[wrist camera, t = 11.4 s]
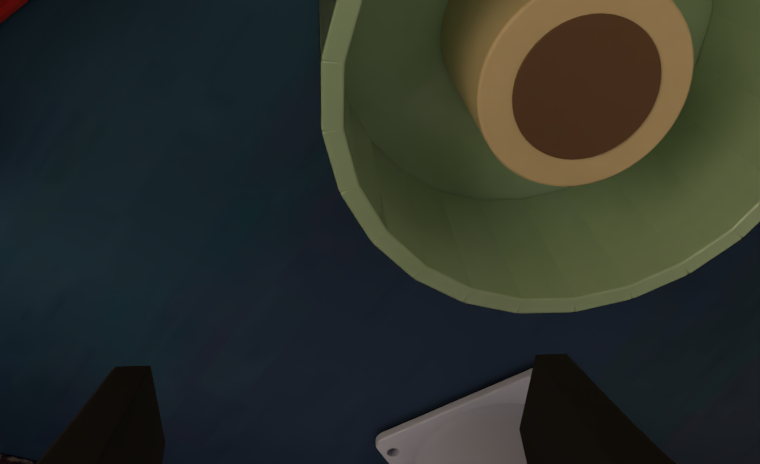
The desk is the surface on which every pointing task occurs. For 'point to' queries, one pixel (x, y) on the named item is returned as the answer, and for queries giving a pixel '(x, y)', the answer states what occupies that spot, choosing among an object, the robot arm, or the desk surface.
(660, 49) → the tape roll
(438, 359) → the desk surface
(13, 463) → the storage jar
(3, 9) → the red curved piece
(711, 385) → the desk surface
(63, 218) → the desk surface
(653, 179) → the green bowl
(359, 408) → the desk surface
